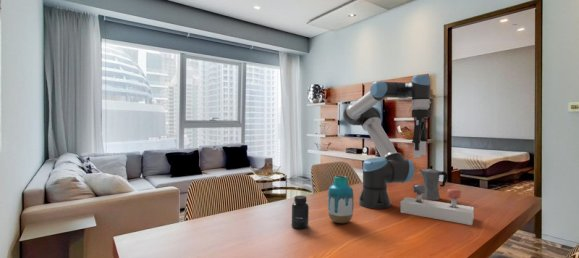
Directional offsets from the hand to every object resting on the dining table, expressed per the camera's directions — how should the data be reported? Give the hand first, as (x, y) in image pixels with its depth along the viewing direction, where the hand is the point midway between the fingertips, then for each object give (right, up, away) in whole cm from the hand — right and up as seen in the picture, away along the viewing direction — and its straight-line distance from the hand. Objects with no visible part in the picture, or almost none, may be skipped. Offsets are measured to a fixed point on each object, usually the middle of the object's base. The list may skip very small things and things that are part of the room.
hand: (419, 156), depth 130 cm
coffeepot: (+18, -26, +24) cm, 40 cm away
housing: (+6, -26, -4) cm, 27 cm away
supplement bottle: (-56, -27, -17) cm, 64 cm away
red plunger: (+11, -22, -8) cm, 26 cm away
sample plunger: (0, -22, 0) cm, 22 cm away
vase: (-39, -27, -12) cm, 49 cm away
